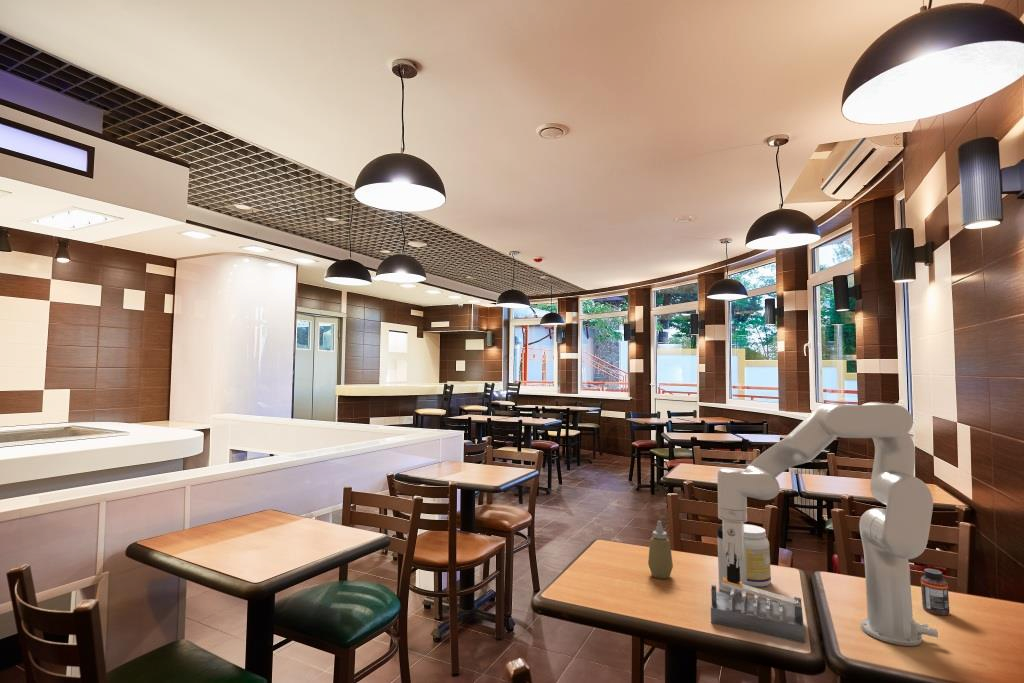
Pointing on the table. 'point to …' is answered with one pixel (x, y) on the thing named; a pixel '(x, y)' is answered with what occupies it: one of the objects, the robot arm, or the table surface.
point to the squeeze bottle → (660, 554)
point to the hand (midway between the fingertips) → (733, 580)
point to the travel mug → (723, 564)
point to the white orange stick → (760, 592)
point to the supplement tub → (755, 557)
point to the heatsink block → (757, 615)
